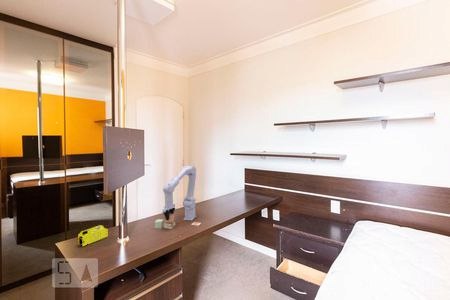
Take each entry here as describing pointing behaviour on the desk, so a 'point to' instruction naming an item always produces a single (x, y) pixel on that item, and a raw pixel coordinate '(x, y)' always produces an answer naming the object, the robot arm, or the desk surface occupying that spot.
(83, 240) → the yellow toy chassis
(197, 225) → the tile
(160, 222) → the sage cube
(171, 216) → the terracotta cube
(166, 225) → the maple base
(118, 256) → the desk surface
